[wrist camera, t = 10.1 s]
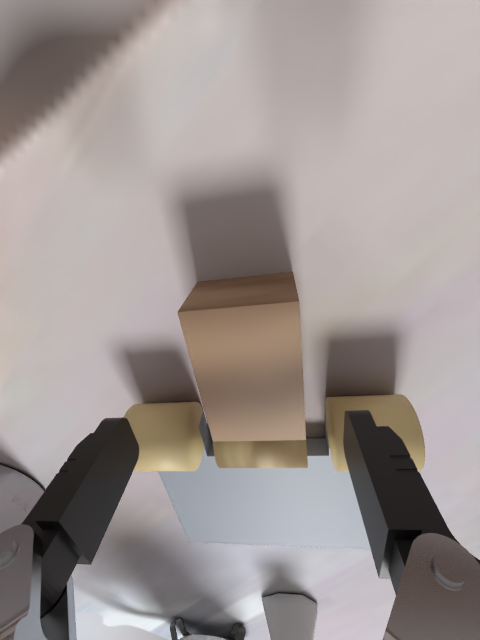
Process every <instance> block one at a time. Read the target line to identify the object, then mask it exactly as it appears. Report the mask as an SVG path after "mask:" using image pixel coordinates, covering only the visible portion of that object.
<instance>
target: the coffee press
mask: <svg viewBox="0 0 480 640" xmlns="http://www.w3.org/2000/svg"><path fill="white" fill-rule="evenodd" d="M176 621H177V622H178V625H179V628H180V631H181V633H182V635H183V636H185V637H182V638H180V639H179V640H244V637H245V627H244V626H242V625H240V624H237V623H235V624H234V625H233V627H232V629H231V631H230V633H229V635H228V636H227V637H224V638H220V637H216V636H210V635H191V634H189V633H188V632H187V631H186V628H185V625H184V622H183V620H182V619H181V618H177V619H175V620H173V621H172V622H171V625H170V631H171V637H172V640H178V639H177V633H176V628H175V624H176Z"/></svg>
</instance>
